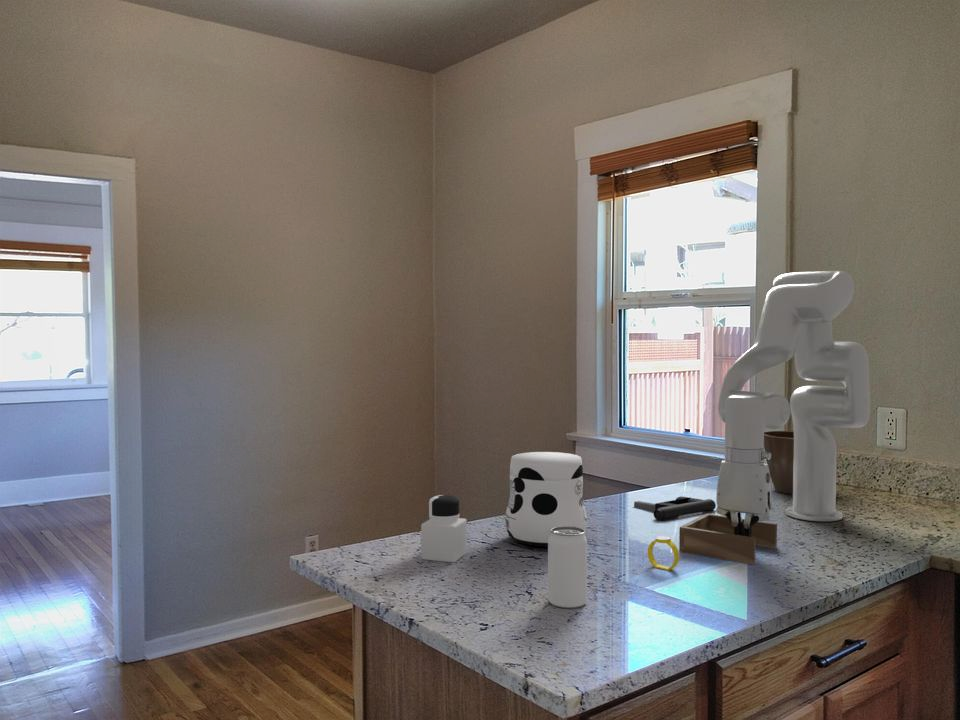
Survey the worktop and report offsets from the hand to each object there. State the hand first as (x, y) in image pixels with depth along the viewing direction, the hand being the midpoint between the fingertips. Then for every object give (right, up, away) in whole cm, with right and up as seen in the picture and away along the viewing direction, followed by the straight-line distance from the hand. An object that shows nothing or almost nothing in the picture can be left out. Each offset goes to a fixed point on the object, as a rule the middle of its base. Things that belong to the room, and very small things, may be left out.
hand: (742, 545), depth 159 cm
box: (-2, -1, +2) cm, 3 cm away
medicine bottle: (-60, -2, -3) cm, 60 cm away
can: (-39, -3, -29) cm, 49 cm away
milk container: (-39, -1, +9) cm, 40 cm away
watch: (-19, -2, -11) cm, 22 cm away
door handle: (-6, -1, +37) cm, 37 cm away
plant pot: (+33, +1, +60) cm, 69 cm away
